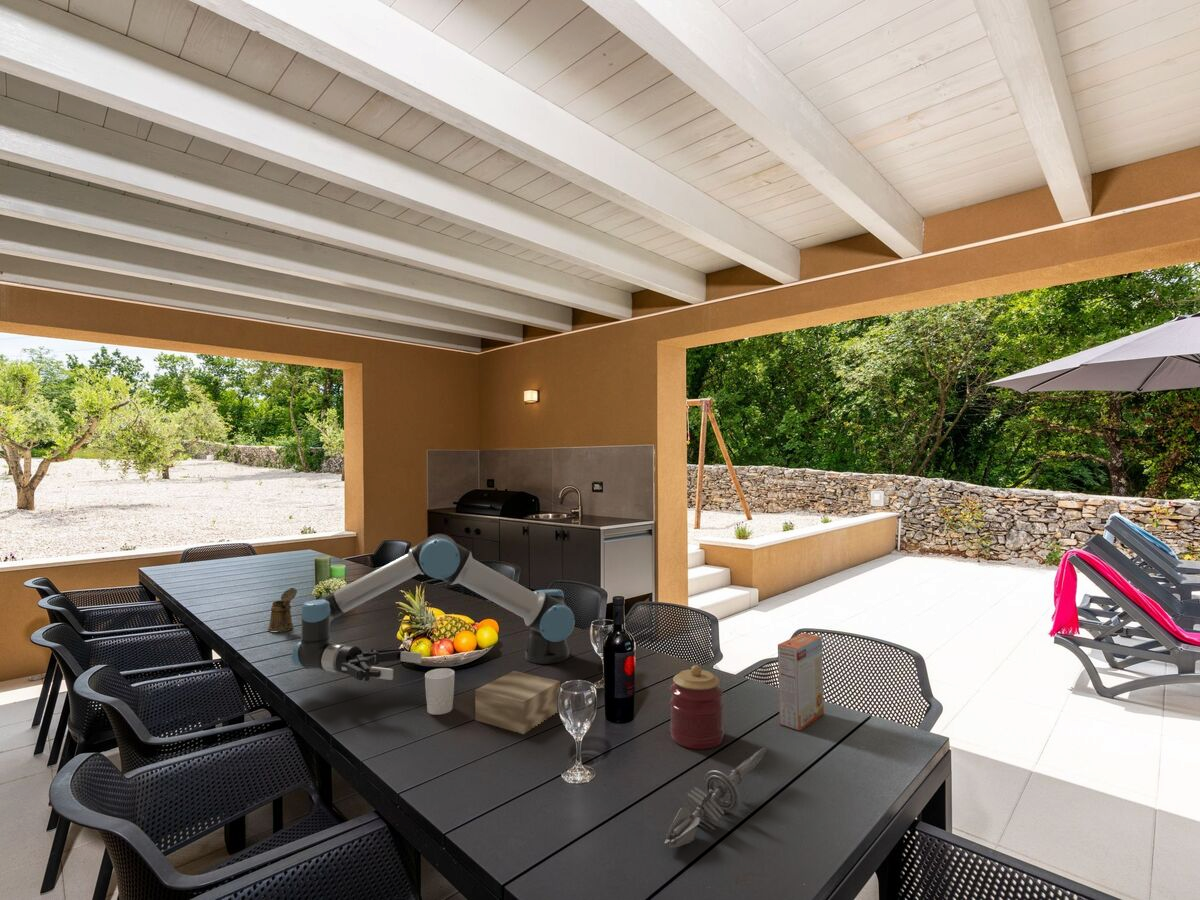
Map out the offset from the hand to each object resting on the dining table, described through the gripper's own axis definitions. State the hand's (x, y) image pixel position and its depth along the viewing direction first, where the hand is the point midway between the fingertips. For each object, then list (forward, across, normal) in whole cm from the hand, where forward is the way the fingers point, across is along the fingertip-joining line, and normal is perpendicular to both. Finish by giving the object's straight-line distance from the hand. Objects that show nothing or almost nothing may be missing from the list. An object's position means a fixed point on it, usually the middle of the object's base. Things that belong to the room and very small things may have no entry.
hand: (407, 666), depth 166 cm
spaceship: (+88, +27, -11) cm, 93 cm away
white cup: (+10, 0, -11) cm, 15 cm away
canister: (+80, -2, -10) cm, 81 cm away
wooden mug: (-92, -52, -12) cm, 106 cm away
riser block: (+33, -3, -11) cm, 34 cm away
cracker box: (+105, -19, -10) cm, 108 cm away
